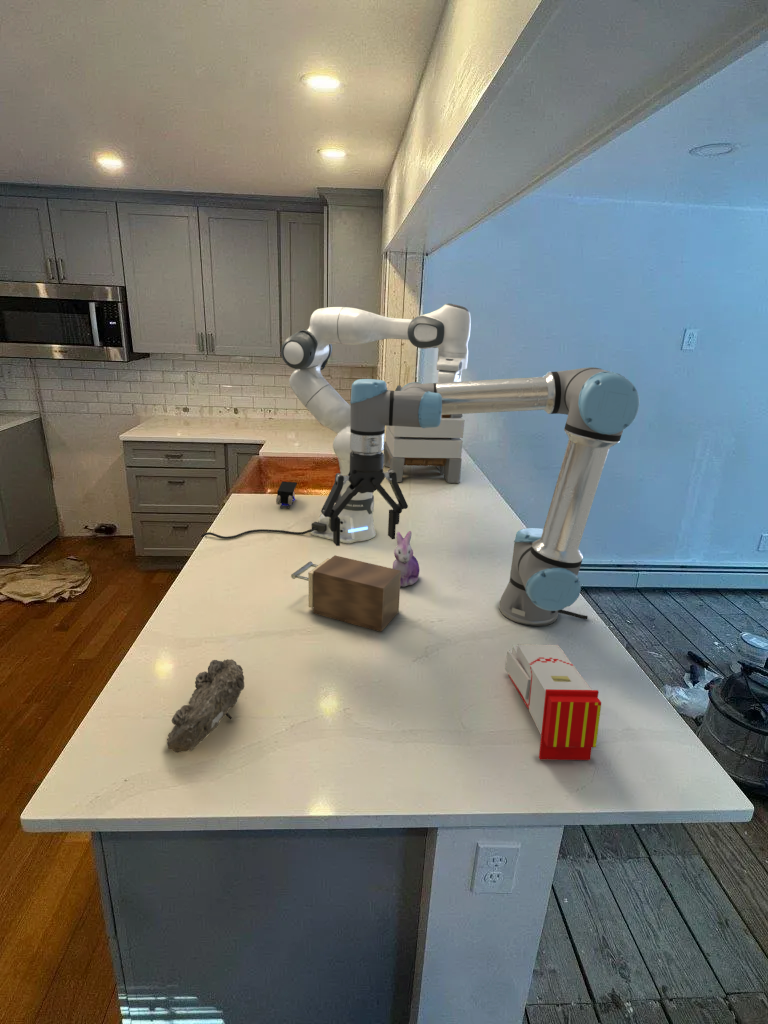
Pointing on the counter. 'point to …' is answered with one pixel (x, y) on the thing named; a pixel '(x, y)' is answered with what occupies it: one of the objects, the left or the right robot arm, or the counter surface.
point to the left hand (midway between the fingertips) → (448, 408)
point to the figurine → (405, 560)
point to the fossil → (206, 705)
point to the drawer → (308, 579)
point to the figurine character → (286, 494)
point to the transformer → (426, 447)
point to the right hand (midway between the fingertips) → (364, 540)
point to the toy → (556, 700)
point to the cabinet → (357, 592)
